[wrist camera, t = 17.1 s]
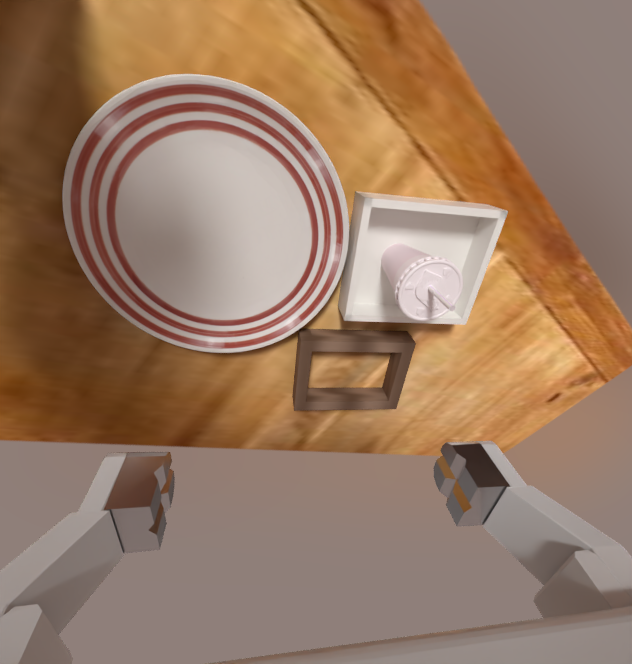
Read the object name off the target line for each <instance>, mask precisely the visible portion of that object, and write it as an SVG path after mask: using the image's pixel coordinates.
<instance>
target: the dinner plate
mask: <svg viewBox="0 0 632 664" xmlns="http://www.w3.org/2000/svg"><path fill="white" fill-rule="evenodd" d="M62 202H63V214H64V220H65V226H66V230H67V234H68V237H69V240H70V243H71V246H72V249H73V251H74V254H75V256H76V258H77V260H78V262H79V264H80V266H81V268H82V270H83V271H84V273H85V274H86V276H87V278H88V279H89V281H90V282H91V284H92V285H93V286H94V288H95V289H96V290H97V291H98V293H99V294H100V295H101V296H102V297H103V298H104V299H105V300H106V302H107V303H108V304H110V305H111V306H112V307H113V308H114V309H115V310H116V311H117V312H118V313H119V314H120V315H122V316H123V317H124V318H126V319H127V320H128V321H130V322H131V323H133V324H134V325H135V326H137V327H138V328H140V329H142V330H143V331H145V332H147V333H148V334H150V335H152V336H154V337H157V338H159V339H161V340H163V341H166V342H168V343H171V344H174V345H177V346H180V347H183V348H187V349H192V350H197V351H203V352H212V353H234V352H243V351H249V350H253V349H257V348H262V347H265V346H268V345H271V344H273V343H276V342H278V341H280V340H282V339H284V338H286V337H288V336H290V335H291V334H293V333H295V332H296V331H298V330H299V329H300V328H302V327H303V326H304V325H306V324H307V323H308V322H309V321H310V320H312V319H313V318H314V317H315V316H316V315H317V313H318V312H319V311H320V310H321V309H322V307H323V306H324V305H325V304H326V302H327V301H328V299H329V298H330V296H331V295H332V293H333V291H334V289H335V288H336V286H337V284H338V281H339V279H340V277H341V274H342V271H343V268H344V264H345V261H346V256H347V251H348V244H349V217H348V210H347V204H346V199H345V195H344V191H343V188H342V185H341V182H340V179H339V177H338V174H337V172H336V170H335V168H334V166H333V164H332V162H331V160H330V158H329V156H328V155H327V153H326V152H325V150H324V148H323V147H322V146H321V144H320V143H319V141H318V140H317V139H316V137H315V136H314V135H313V134H312V133H311V131H310V130H309V129H308V128H307V127H306V126H305V125H304V124H303V123H302V122H301V121H300V120H299V119H298V118H297V117H296V116H295V115H294V114H292V113H291V112H290V111H289V110H287V109H286V108H285V107H284V106H282V105H281V104H279V103H278V102H276V101H275V100H273V99H272V98H270V97H268V96H266V95H265V94H263V93H261V92H259V91H257V90H255V89H253V88H250V87H248V86H246V85H243V84H240V83H237V82H234V81H232V80H228V79H224V78H220V77H215V76H209V75H198V74H175V75H166V76H161V77H157V78H153V79H149V80H146V81H143V82H141V83H138V84H136V85H134V86H132V87H130V88H128V89H126V90H124V91H122V92H120V93H119V94H117V95H115V96H114V97H113V98H111V99H110V100H109V101H108V102H106V103H105V104H104V105H103V106H102V107H101V108H99V109H98V110H97V111H96V112H95V114H94V115H93V116H92V117H91V118H90V119H89V121H88V122H87V123H86V125H85V126H84V127H83V129H82V130H81V132H80V134H79V135H78V137H77V139H76V141H75V143H74V145H73V147H72V149H71V152H70V155H69V158H68V161H67V165H66V168H65V173H64V180H63V192H62Z"/></svg>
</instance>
